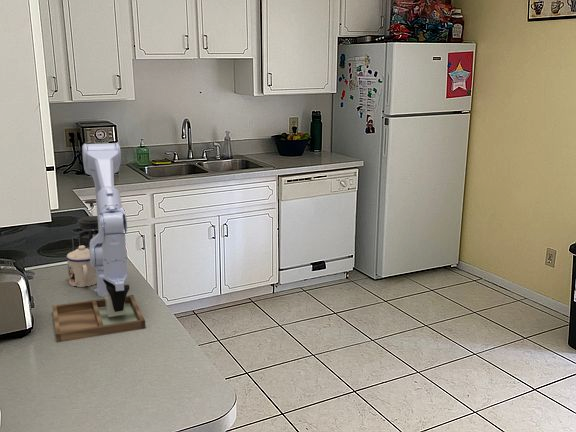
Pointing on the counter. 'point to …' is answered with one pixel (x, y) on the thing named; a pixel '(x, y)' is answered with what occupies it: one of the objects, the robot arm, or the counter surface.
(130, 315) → the sorting tray
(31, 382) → the counter surface
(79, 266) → the teacup with lid
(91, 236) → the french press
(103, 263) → the robot arm
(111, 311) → the stone block
